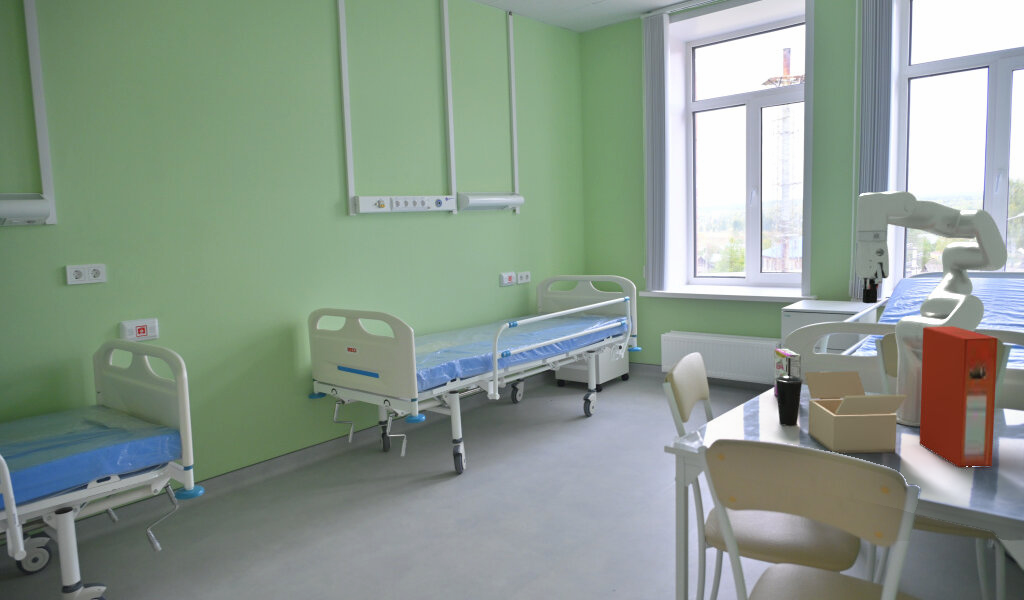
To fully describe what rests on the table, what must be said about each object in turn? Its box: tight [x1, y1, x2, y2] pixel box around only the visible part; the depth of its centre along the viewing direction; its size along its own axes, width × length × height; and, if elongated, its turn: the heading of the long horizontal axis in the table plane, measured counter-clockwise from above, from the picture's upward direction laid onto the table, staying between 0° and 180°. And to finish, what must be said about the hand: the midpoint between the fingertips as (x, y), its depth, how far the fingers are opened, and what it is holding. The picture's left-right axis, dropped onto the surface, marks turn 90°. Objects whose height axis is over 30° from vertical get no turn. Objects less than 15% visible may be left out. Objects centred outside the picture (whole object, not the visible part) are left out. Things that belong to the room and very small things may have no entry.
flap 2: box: [835, 394, 907, 414], centre depth 171 cm, size 15×8×1 cm
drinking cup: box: [775, 358, 804, 427], centre depth 200 cm, size 8×8×20 cm
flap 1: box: [804, 370, 866, 400], centre depth 192 cm, size 15×8×1 cm
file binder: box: [919, 326, 998, 468], centre depth 170 cm, size 8×17×32 cm, turn 177°
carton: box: [808, 398, 898, 454], centre depth 183 cm, size 16×16×10 cm
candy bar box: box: [773, 348, 802, 404], centre depth 227 cm, size 11×5×16 cm, turn 179°
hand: (869, 302), depth 188 cm, fingers closed
